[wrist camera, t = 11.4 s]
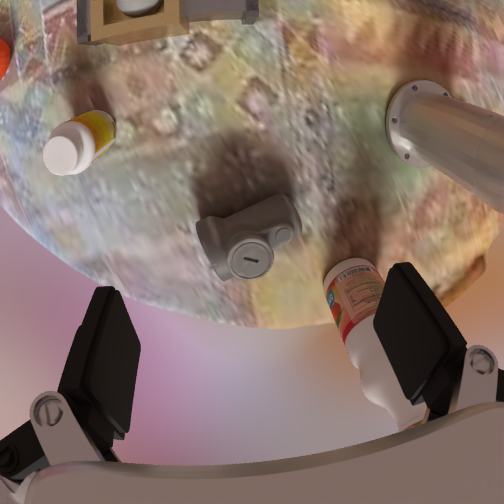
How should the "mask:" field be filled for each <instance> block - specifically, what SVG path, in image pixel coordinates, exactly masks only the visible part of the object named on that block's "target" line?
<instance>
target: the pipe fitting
mask: <svg viewBox="0 0 504 504" xmlns="http://www.w3.org/2000/svg"><path fill="white" fill-rule="evenodd" d="M196 231H197V234H198V237H199V240H200V243H201V245H202V248H203V250H204V252H205V254H206V256H207V258H208V260H209V261H210V263H211V265H212V267H213V268H214V270H215V272H216V274H217V275H218V277H219V278H220V279H221V280H222V281H226V280H228V279H230V278H232V277H237V278H239V279H242V280H255V279H258V278H260V277H262V276H264V275H265V274H266V273H267V272H268V271H269V270H270V268H271V267H272V265H273V261H274V253H273V250H275V249H278V248H280V247H282V246H284V245H286V244H287V243H289V242H290V241H291V240H293V239H295V238H297V237H299V236H300V234H301V231H302V223H301V219H300V217H299V214H298V212H297V209H296V207H295V205H294V204H293V202H292V201H291V199H290V198H289V197H288V196H286V195H284V194H282V193H278V194H275V195H273V196H271V197H269V198H266V199H264V200H262V201H260V202H258V203H256V204H254V205H251V206H249V207H247V208H245V209H243V210H241V211H239V212H237V213H235V214H233V215H230V216H228V217H226V218H219V217H214V216H208V217H206V218H204V219H202V220H199V221H197V222H196Z"/></svg>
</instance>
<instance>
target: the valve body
mask: <svg viewBox="0 0 504 504" xmlns="http://www.w3.org/2000/svg"><path fill="white" fill-rule="evenodd" d="M258 18H259V11H258V0H163V1H162V3H161V4H160V6H159V7H158V9H156V10H155V11H154V12H152V13H151V14H149V15H147V16H144V17H139V18H132V17H129V16H126V15H125V14H124V13H122V12H121V11H120V10H119V9H118V6H117V2H116V0H77V40H78V44H84V45H95V46H96V45H99V44H103V43H105V44H112V45H118V46H121V45H125V44H130V43H135V42H140V41H145V40H151V39H157V38H164V37H171V36H178V35H187V34H189V22H198V21H210V20H227V19H242V25H243V24H254V23H255V21H256V20H257V19H258Z"/></svg>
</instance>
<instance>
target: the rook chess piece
mask: <svg viewBox="0 0 504 504" xmlns="http://www.w3.org/2000/svg"><path fill="white" fill-rule="evenodd" d="M162 1H163V0H116V2H117V6H118V9H119V10H120V11H121V12H122V13H124V14H125V15H126V16H129V17H132V18H139V17H144V16H147V15H149V14H151V13H152V12H154V11H155V10H156V9H158V7H159V6H160V4H161V3H162Z"/></svg>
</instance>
